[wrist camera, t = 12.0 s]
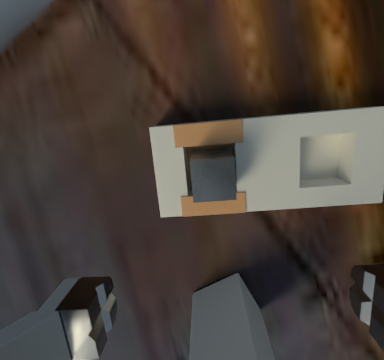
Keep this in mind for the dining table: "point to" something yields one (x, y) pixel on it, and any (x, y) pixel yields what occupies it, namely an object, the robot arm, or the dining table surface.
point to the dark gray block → (213, 175)
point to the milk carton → (228, 324)
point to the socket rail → (277, 161)
